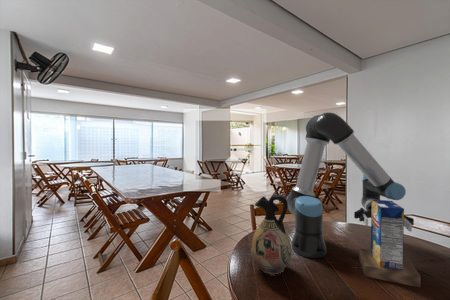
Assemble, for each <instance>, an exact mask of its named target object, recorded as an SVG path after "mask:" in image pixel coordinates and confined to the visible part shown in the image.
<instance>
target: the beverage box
mask: <svg viewBox="0 0 450 300" xmlns="http://www.w3.org/2000/svg"><path fill="white" fill-rule="evenodd" d="M404 215H405V208H403V206H401V205H399V204H398V203H396V202H394V200H383V199H380V200H372V211H371V218H370V220H371V222H370V224H371V225H370V227H371V228H370V229H371V230H370V250H371V253H372V255H373V257H374V258H375V260H376V261H377V263H378V265H379V266H380V267H384V268H391V269H397V270H403V256H404V235H405V234H404V232H405V231H404V229H405V228H404Z"/></svg>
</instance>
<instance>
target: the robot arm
mask: <svg viewBox="0 0 450 300" xmlns="http://www.w3.org/2000/svg"><path fill="white" fill-rule="evenodd" d="M305 132H306V134H305V138H304V139H305V140H306V145H305V151H304V154H303V158H302V161H301V166H300V169H299V173H298V176H297V180H296V185H295V186H292V188H291V190H290V193H289V194H288V195H287V197H286V200H287V204H288V207H287V211H288V212H289V213H290V214H291V215H293V217H294V219H295V221H294V222H295V223H294V225H295V228H294V230H295V231H294V234H293V237H292V239H291V241H290V245H291V247H292V248H291V250H292V249H293V250H294V251H295V252H296V253H295V252H294V251H293V250H292V251H293V252H294V253H295V254H297V253H298V254H297V255H299V254H300V256H301V255H302V256H303V257H304V258H310V259H311V258H312V259H319V258H320V259H321V258H323V257H326V255H327V245H326V242H325V239H324V236H323V225H324V224H323V221H324V220H323V218H324V217H323V214H324V208H323V203H322V200H320V199H318V198H316V194H315V193H314V188H315V184H316V180H317V177H318V173H319V169H320V167H321V163H322V159H323V154H324V151H325V148H326V146H327V145H329V144H330V142H332V143H333V144H334V145H338V146H339V147H340V149H341V150H342V151H343V152H344V153H345V155H346V156H348V158H349V159H350V161H352V162H353V164H354V165H355V166H356V167H357V168H358V169H359V170H360V172H361V174H362V180H361V181H362V195H361V196H362V197H361V199H360V201H361V205H362V207H360V208H359V209H357V210H356V211H354V214H353V217H354V219H357V220H358V219H359V222H363V223H364V225H365V226H366V227H368V226H369V219H371V211H372V200H381V197H382V198H383V197H384V198H386V199H387V200H391V201H400V200H402V199H403V198H405V196H406V194H407V193H406V191H407V190H406V187H404V185H402V184H400V183H399V182H395V181H394V180H393V178H392V177H391V176H390V175H389V174H388V173H387V172H386V170H385V169H384V168H383V167H382V166H381V164H379V162H378V161H377V160H376V158H374V157H373V155H372V154H371V153H370V152H369V151H368V149H367V148H366V147H365V146H364V145H363V144H362V143H361V142H360V141H361V140H359V139H358V138H357V137H356V136H355V134H354V133H355V131H354V129H353V128H352V127H351V126H350V125H349V123H347V121H345V120H344V119H343V118H342V117H341V116H340V115H338V114H337V113H334V112H324V113H321V114H318V115H314V116H312V117H311V118H310V119H308V121H307V122H306V124H305ZM414 221H415V220H414V218H412V217H410V216H408V215H405V214H404V227H405V228H404V229H406V230H407V231H408V232H412V230H413V229H412V228H413V226H414V225H415V223H414Z"/></svg>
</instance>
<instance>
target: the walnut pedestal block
mask: <svg viewBox="0 0 450 300" xmlns="http://www.w3.org/2000/svg"><path fill="white" fill-rule="evenodd" d="M358 259H359V263H360V265H361V268H362V272H363V274H364V277H367V278H372V279H378V280H382V281H386V282H387V281H388V282H392V283H397V284H401V285H407V286H412V287H416V288H421V285H422V284H421V281H422V280H421V278H422V277H421V274H420V273H419V272H418V271H417V269H416V268H415V266H414V265H413V264H412V263H411V261H410V260H409V259H408V257H407V255H403V270H397V269H391V268H384V267H380V266H379V265H378V263H377V261H376V260H375V258H374V257H373V255H372V253H371V249H364V248H359V247H358Z"/></svg>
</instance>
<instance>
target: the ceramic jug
mask: <svg viewBox="0 0 450 300" xmlns="http://www.w3.org/2000/svg"><path fill="white" fill-rule="evenodd" d="M274 201H280V202H281V203H282V210H281V212H280V214H279V218H278V219H277V216H276V213H277V212H279V211H280V209H279V207H278V206H277V205H276V204H275V203H274ZM254 206H255V207H256V208H260V209H261V210H263V211H264V212H265V216H264V218H263V220H262V221H261V222H260V224H259V225H258V226H257V229H256V230H255V232H254V234H253V236H252V240H251V245H250V253H251V256H252V259H253V260H254V261H253V262H254V263H255V264H256V265H257V266H258V268H259V267H260V269H261V270H262V271H264V272H266V273H269V274H278V273H280V274H282V273H283V272H284V271H285V268H286V267H287V266H288V265H289V263H290V262H291V258H292V248H291V241H290V239H289V237H288V235H287V233H286V229H285V225H284V219H285V216H286V214H287V211H288V208H287V207H288V204H287V197H285V196H283V195H282V194H274V195H271V197H270V198H269V199H267V198H266V196H262V197H261V198H259V200H257V201H256V202H255V204H254ZM275 212H276V213H275ZM260 269H259V270H260ZM281 272H282V273H281ZM278 275H279V274H278Z"/></svg>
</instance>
